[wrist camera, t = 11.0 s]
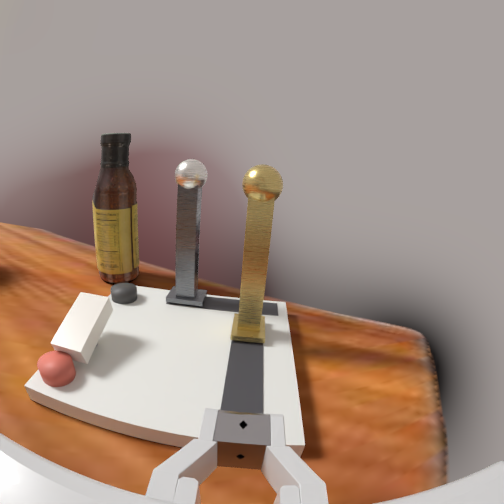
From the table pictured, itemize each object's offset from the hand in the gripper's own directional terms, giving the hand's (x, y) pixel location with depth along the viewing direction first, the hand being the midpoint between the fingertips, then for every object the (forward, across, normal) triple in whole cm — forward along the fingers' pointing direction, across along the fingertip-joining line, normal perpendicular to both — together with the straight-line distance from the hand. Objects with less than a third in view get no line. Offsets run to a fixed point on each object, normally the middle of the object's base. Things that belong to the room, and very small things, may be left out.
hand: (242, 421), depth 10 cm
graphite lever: (+21, +7, +6) cm, 23 cm away
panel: (+13, +6, +8) cm, 16 cm away
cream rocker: (+10, +14, +4) cm, 18 cm away
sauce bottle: (+28, +19, +8) cm, 35 cm away
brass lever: (+16, 0, +6) cm, 17 cm away
